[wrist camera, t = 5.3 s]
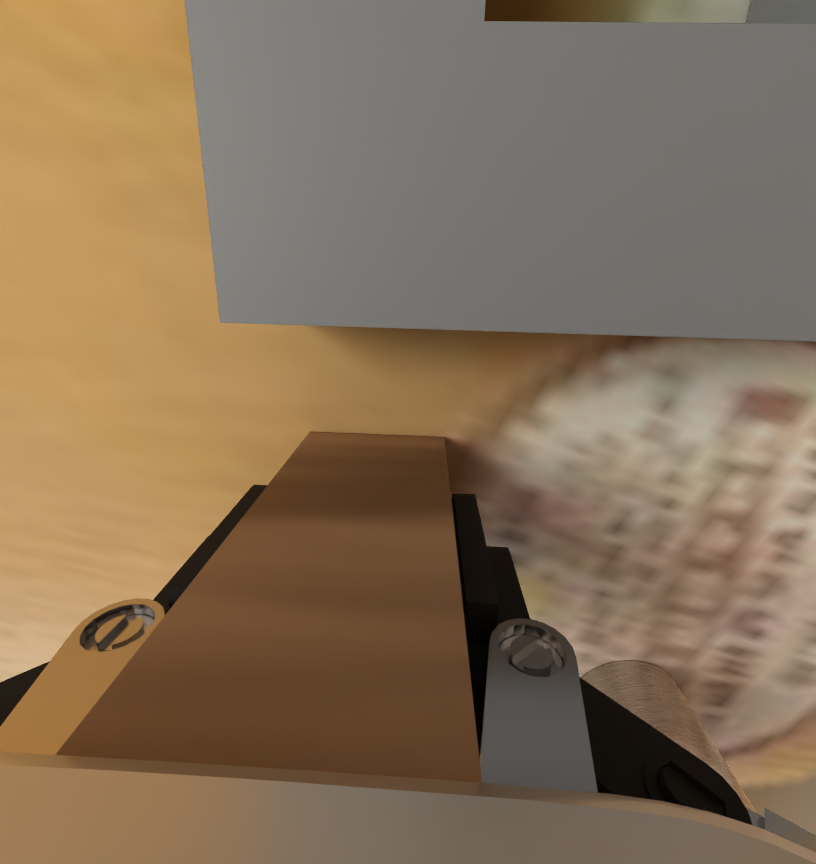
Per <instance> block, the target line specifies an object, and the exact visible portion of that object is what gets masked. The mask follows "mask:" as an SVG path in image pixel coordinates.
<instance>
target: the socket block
mask: <svg viewBox="0 0 816 864" xmlns="http://www.w3.org/2000/svg"><path fill="white" fill-rule="evenodd" d="M485 2H486V0H185V7H186V16H187V25H188V34H189V43H190V53H191V62H192V71H193V80H194V89H195V98H196V107H197V116H198V125H199V134H200V143H201V152H202V161H203V171H204V180H205V189H206V198H207V207H208V216H209V225H210V234H211V243H212V252H213V261H214V270H215V280H216V289H217V298H218V307H219V316H220V323H247V324H279V325H311V326H342V327H374V328H406V329H438V330H470V331H501V332H533V333H565V334H597V335H629V336H660V337H692V338H724V339H756V340H788V341H816V0H751V3H750V7H749V12H748V16H747V21H746V23H644V22H530V21H484V17H485Z"/></svg>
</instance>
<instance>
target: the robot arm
mask: <svg viewBox="0 0 816 864" xmlns="http://www.w3.org/2000/svg"><path fill="white" fill-rule="evenodd" d="M267 486H268V485H253V486H252V487H251V488H250V489H249V491H248V492H247V493H246V494H245V495H244V496H243V498H242V499H241V500H240V501H239V502H238V503H237V505H236V506H235V507H234V508H233V509H232V510H231V512H230V513H229V514H228V515H227V516H226V517H225V519H224V520H223V521H222V522H221V523H220V524H219V526H218V527H217V528H216V529H215V530H214V531H213V532H212V534H211V535H210V536H208V537H207V538H206V539H205V541H204V542H203V543H202V544H201V545H200V546H199V548H198V549H197V550H196V551H195V552H194V553H193V554H192V556H191V557H190V558H189V559H188V560H187V561H186V563H185V564H184V565H183V566H182V567H181V568H180V570H179V571H178V572H177V573H176V574H175V575H174V576H173V578H172V579H171V580H170V581H169V582H168V583H167V585H166V586H165V587H164V588H163V589H162V590H161V591H160V593H159V594H158V595H157V596H156V597H155V598H154V600H150V599H131V600H125V601H121V602H118V603H115V604H112V605H109V606H107V607H105V608H103V609H100V610H98V611H96V612H95V613H93V614H92V615H90V616H89V617H87V618H86V619H85V620H83V621H82V622H81V623H80V624H79V625H78V626H77V627H76V628H75V629H74V631H73V632H72V633H71V634H70V636H69V637H68V638H67V640H66V641H65V642H64V644H63V645H62V646H61V648H60V649H59V650H58V652H57V653H56V654H55V655H54V657H53V658H52V659H51V661H49V662H47V663H45V664H42V665H40V666H38V667H35V668H33V669H31V670H28V671H26V672H24V673H21V674H19V675H17V676H14V677H12V678H10V679H7V680H5V681H3V682H0V864H816V835H814V834H812V833H810V832H808V831H806V830H805V829H803V828H801V827H799V826H797V825H795V824H794V823H792V822H790V821H788V820H786V819H784V818H782V817H781V816H779V815H777V814H775V813H773V812H771V811H770V810H768V809H766V808H764V809H763V811H762V814H761V815H759V814H757V813H755V812H753V811H752V810H750V809H748V808H746V807H745V806H744V804H743V802H742V801H741V799H740V797H739V796H738V794H737V793H736V791H735V790H734V789H733V788H732V787H731V786H730V785H729V784H728V782H727V781H726V780H725V779H724V778H723V777H722V776H721V775H720V774H719V773H717V772H716V771H715V770H714V769H712V768H711V767H710V766H709V765H708V764H706V763H705V762H704V761H702V760H701V759H699V758H698V757H696V756H695V755H693V754H692V753H690V752H689V751H688V750H686V749H685V748H683V747H682V746H680V745H679V744H677V743H676V742H674V741H673V740H671V739H670V738H668V737H667V736H665V735H664V734H663V733H661V732H660V731H658V730H657V729H655V728H654V727H652V726H651V725H649V724H648V723H646V722H645V721H643V720H642V719H641V718H639V717H638V716H636V715H635V714H633V713H632V712H630V711H629V710H627V709H626V708H624V707H623V706H621V705H620V704H619V703H617V702H616V701H614V700H613V699H611V698H610V697H608V696H607V695H605V694H604V693H602V692H601V691H599V690H598V689H596V688H595V687H594V686H592V685H591V684H589V683H588V682H586V681H585V680H583V679H582V678H580V677H579V673H578V666H577V660H576V656H575V653H574V650H573V648H572V646H571V645H570V643H569V642H568V641H567V639H566V638H565V637H564V636H563V635H562V634H560V633H559V632H558V631H557V630H556V629H554V628H552V627H550V626H548V625H546V624H544V623H542V622H539V621H535V620H532V619H530V617H529V614H528V611H527V607H526V604H525V601H524V597H523V594H522V591H521V588H520V584H519V581H518V578H517V574H516V571H515V568H514V564H513V561H512V558H511V555H510V552H509V549H508V548H507V547H489V546H486V542H485V537H484V533H483V528H482V524H481V519H480V515H479V510H478V506H477V501H476V497H475V494H453V497H452V499H451V501H452V510H453V519H454V528H455V538H456V547H457V556H458V565H459V575H460V584H461V593H462V602H463V612H464V621H465V630H466V639H467V649H468V658H469V667H470V676H471V686H472V695H473V704H474V713H475V723H476V732H477V741H478V750H479V760H480V769H481V778H482V783H480V782H466V781H452V780H438V779H424V778H410V777H395V776H381V775H367V774H353V773H338V772H323V771H308V770H292V769H277V768H262V767H246V766H231V765H215V764H199V763H183V762H167V761H151V760H134V759H117V758H99V757H82V756H65V755H55V754H56V753H57V752H58V751H59V749H60V748H61V747H62V746H63V744H64V743H65V742H66V740H67V739H68V738H69V737H70V735H71V734H72V733H73V732H74V730H75V729H76V728H77V727H78V725H79V724H80V723H81V721H82V720H83V719H84V718H85V716H86V715H87V714H88V713H89V711H90V710H91V709H92V707H93V706H94V705H95V704H96V702H97V701H98V700H99V699H100V697H101V696H102V695H103V694H104V692H105V691H106V690H107V688H108V687H109V686H110V685H111V683H112V682H113V681H114V680H115V678H116V677H117V676H118V675H119V673H120V672H121V671H122V669H123V668H124V667H125V666H126V664H127V663H128V662H129V661H130V659H131V658H132V657H133V656H134V654H135V653H136V652H137V650H138V649H139V648H140V647H141V645H142V644H143V643H144V642H145V640H146V639H147V638H148V637H149V635H150V634H151V633H152V631H153V630H154V629H155V628H156V626H157V625H158V624H159V623H160V621H161V620H162V619H163V618H164V616H165V615H166V614H167V612H168V611H169V610H170V609H171V607H172V606H173V605H174V604H175V602H176V601H177V600H178V598H179V597H180V596H181V595H182V593H183V592H184V591H185V590H186V588H187V587H188V586H189V585H190V583H191V582H192V581H193V579H194V578H195V577H196V576H197V574H198V573H199V572H200V571H201V569H202V568H203V567H204V566H205V564H206V563H207V562H208V560H209V559H210V558H211V557H212V555H213V554H214V553H215V552H216V550H217V549H218V548H219V547H220V545H221V544H222V543H223V541H224V540H225V539H226V538H227V536H228V535H229V534H230V533H231V531H232V530H233V529H234V528H235V526H236V525H237V524H238V522H239V521H240V520H241V519H242V517H243V516H244V515H245V514H246V512H247V511H248V510H249V508H250V507H251V506H252V505H253V503H254V502H255V501H256V500H257V498H258V497H259V496H260V495H261V493H262V492H263V491H264V489H265V488H266V487H267Z"/></svg>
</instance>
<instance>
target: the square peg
mask: <svg viewBox="0 0 816 864" xmlns="http://www.w3.org/2000/svg"><path fill="white" fill-rule="evenodd" d="M55 755H65V756H82V757H99V758H117V759H134V760H151V761H167V762H183V763H199V764H215V765H231V766H246V767H262V768H277V769H292V770H308V771H323V772H338V773H353V774H367V775H381V776H395V777H410V778H424V779H438V780H452V781H466V782H480V783H482V778H481V769H480V760H479V750H478V741H477V732H476V723H475V713H474V704H473V695H472V686H471V676H470V667H469V658H468V649H467V639H466V630H465V621H464V612H463V602H462V593H461V584H460V575H459V565H458V556H457V547H456V538H455V528H454V519H453V510H452V501H451V491H450V482H449V473H448V464H447V454H446V445H445V437H427V436H403V435H378V434H354V433H329V432H309V434H308V435H307V436H306V438H305V439H304V440H303V441H302V443H301V444H300V445H299V446H298V448H297V449H296V450H295V451H294V453H293V454H292V455H291V457H290V458H289V459H288V460H287V462H286V463H285V464H284V465H283V467H282V468H281V469H280V470H279V472H278V473H277V474H276V476H275V477H274V478H273V479H272V481H271V482H270V483H269V484H268V486H267V487H266V488H265V489H264V491H263V492H262V493H261V495H260V496H259V497H258V498H257V500H256V501H255V502H254V503H253V505H252V506H251V507H250V508H249V510H248V511H247V512H246V514H245V515H244V516H243V517H242V519H241V520H240V521H239V522H238V524H237V525H236V526H235V528H234V529H233V530H232V531H231V533H230V534H229V535H228V536H227V538H226V539H225V540H224V541H223V543H222V544H221V545H220V547H219V548H218V549H217V550H216V552H215V553H214V554H213V555H212V557H211V558H210V559H209V560H208V562H207V563H206V564H205V566H204V567H203V568H202V569H201V571H200V572H199V573H198V574H197V576H196V577H195V578H194V579H193V581H192V582H191V583H190V585H189V586H188V587H187V588H186V590H185V591H184V592H183V593H182V595H181V596H180V597H179V598H178V600H177V601H176V602H175V604H174V605H173V606H172V607H171V609H170V610H169V611H168V612H167V614H166V615H165V616H164V618H163V619H162V620H161V621H160V623H159V624H158V625H157V626H156V628H155V629H154V630H153V631H152V633H151V634H150V635H149V637H148V638H147V639H146V640H145V642H144V643H143V644H142V645H141V647H140V648H139V649H138V650H137V652H136V653H135V654H134V656H133V657H132V658H131V659H130V661H129V662H128V663H127V664H126V666H125V667H124V668H123V669H122V671H121V672H120V673H119V675H118V676H117V677H116V678H115V680H114V681H113V682H112V683H111V685H110V686H109V687H108V688H107V690H106V691H105V692H104V694H103V695H102V696H101V697H100V699H99V700H98V701H97V702H96V704H95V705H94V706H93V707H92V709H91V710H90V711H89V713H88V714H87V715H86V716H85V718H84V719H83V720H82V721H81V723H80V724H79V725H78V727H77V728H76V729H75V730H74V732H73V733H72V734H71V735H70V737H69V738H68V739H67V740H66V742H65V743H64V744H63V746H62V747H61V748H60V749H59V751H58V752H57V753H56V754H55Z"/></svg>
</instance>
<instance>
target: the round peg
mask: <svg viewBox="0 0 816 864" xmlns="http://www.w3.org/2000/svg"><path fill="white" fill-rule="evenodd" d="M581 678H582V679H583V680H585V681H586V682H588V683H589V684H591V685H592V686H594V687H595V688H596V689H598V690H599V691H601V692H602V693H604V694H605V695H607V696H608V697H610V698H611V699H613V700H614V701H616V702H617V703H619V704H620V705H621V706H623V707H624V708H626V709H627V710H629V711H630V712H632V713H633V714H635V715H636V716H638V717H639V718H641V719H642V720H643V721H645V722H646V723H648V724H649V725H651V726H652V727H654V728H655V729H657V730H658V731H660V732H661V733H663V734H664V735H665V736H667V737H668V738H670V739H671V740H673V741H674V742H676V743H677V744H679V745H680V746H682V747H683V748H685V749H686V750H688V751H689V752H690V753H692V754H693V755H695V756H696V757H698V758H699V759H701V760H702V761H704V762H705V763H706V764H708V765H709V766H710V767H711V768H712V769H714V770H715V771H716V772H717V773H719V774H720V775H721V776H722V777H723V778H724V779H725V780H726V781H727V782H728V784H729V785H730V786H731V787H732V788H733V789H734V790H735V791H736V793H737V794H738V796H739V797H740V799H741V801H742V802H743V804H744V806H745V807H746V808H748V809H750V810H752V811H753V812H755V813H757V812H756V811H755V809H754V808H753V806H752V804H751V803H750V801H749V800H748V798H747V797H746V795H745V793H744V792H743V790H742V788H741V787H740V785H739V784H738V782H737V780H736V779H735V777H734V775H733V774H732V772H731V771H730V769H729V767H728V766H727V764H726V763H725V761H724V759H723V758H722V756H721V755H720V753H719V751H718V750H717V748H716V747H715V745H714V743H713V742H712V740H711V738H710V737H709V735H708V734H707V732H706V730H705V729H704V727H703V726H702V724H701V722H700V721H699V719H698V718H697V716H696V714H695V713H694V711H693V710H692V708H691V706H690V705H689V703H688V701H687V700H686V698H685V697H684V695H683V693H682V692H681V690H680V689H679V687H678V685H677V684H676V682H675V681H674V679H673V678H672V677H671V676H670V675H669V674H668V673H667V672H666V671H664V670H663V669H661V668H659V667H657V666H655V665H652V664H649V663H645V662H640V661H617V662H612V663H608V664H605V665H602V666H599V667H597V668H595V669H593V670H591V671H589V672H588V673H586V674H585V675H584V676H582V677H581Z"/></svg>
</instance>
